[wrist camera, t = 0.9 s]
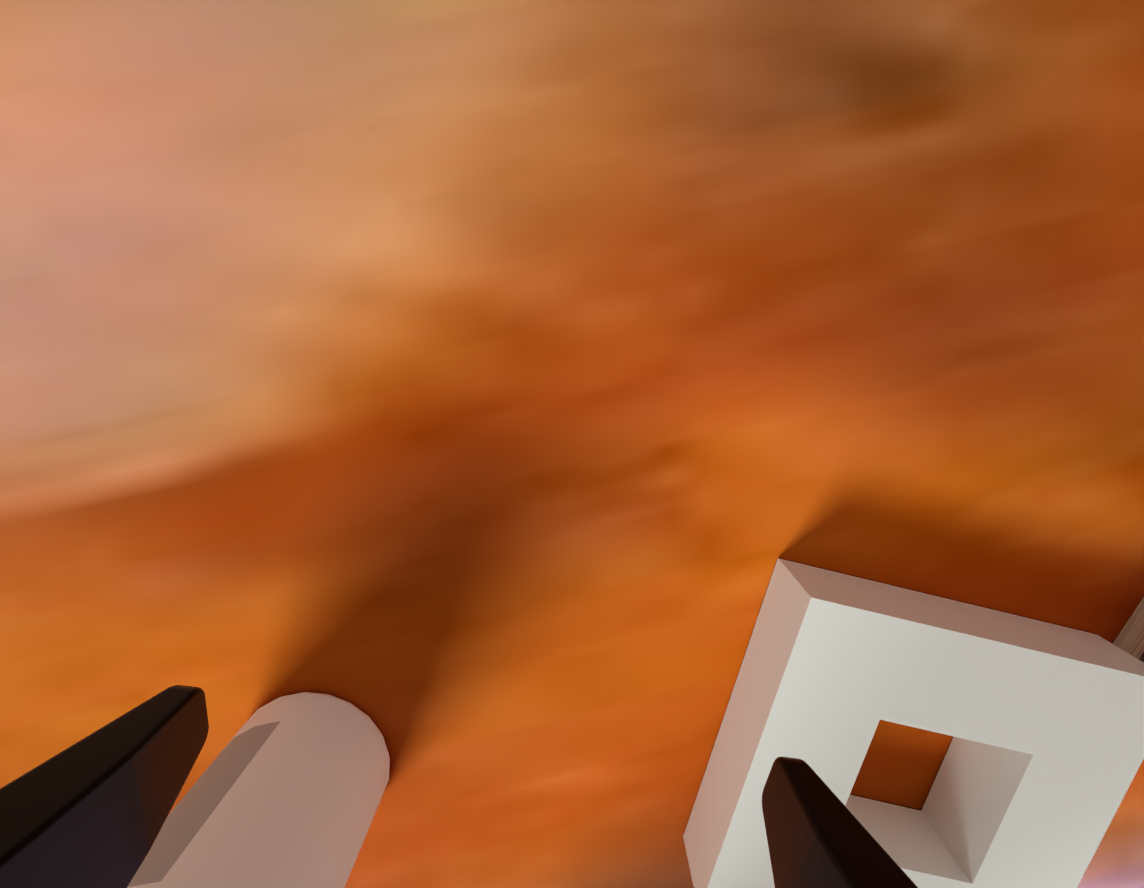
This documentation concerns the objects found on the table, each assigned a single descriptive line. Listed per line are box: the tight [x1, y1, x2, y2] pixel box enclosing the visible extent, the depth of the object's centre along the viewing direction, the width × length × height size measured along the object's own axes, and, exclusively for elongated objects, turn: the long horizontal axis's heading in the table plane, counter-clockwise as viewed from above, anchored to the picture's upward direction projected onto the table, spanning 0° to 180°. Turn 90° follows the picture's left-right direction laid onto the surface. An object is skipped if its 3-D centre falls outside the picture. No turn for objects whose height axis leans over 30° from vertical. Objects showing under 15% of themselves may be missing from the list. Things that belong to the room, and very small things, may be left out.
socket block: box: [683, 558, 1144, 888], centre depth 24 cm, size 14×14×4 cm
